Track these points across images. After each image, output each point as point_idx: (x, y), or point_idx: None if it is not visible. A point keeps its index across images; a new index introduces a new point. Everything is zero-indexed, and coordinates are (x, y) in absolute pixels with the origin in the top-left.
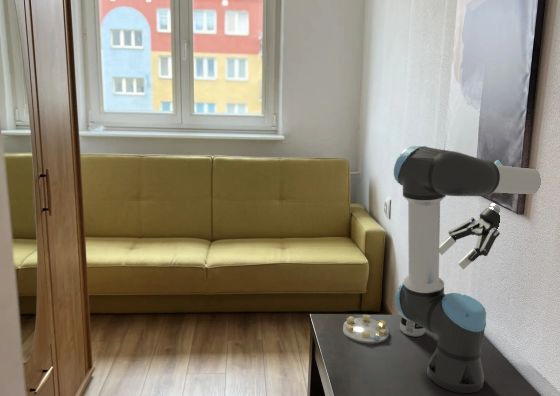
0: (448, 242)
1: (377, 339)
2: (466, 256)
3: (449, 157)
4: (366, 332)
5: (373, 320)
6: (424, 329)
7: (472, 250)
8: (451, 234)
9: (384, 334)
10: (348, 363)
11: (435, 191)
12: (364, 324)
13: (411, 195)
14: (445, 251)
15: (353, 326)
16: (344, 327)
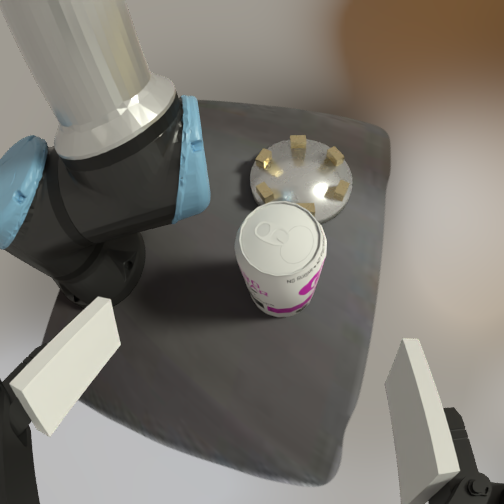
0: (417, 437)
1: (250, 178)
2: (58, 336)
3: None
4: (265, 156)
5: (335, 207)
6: (253, 299)
7: (20, 379)
8: (473, 491)
9: (260, 195)
10: (206, 122)
11: None
12: (319, 180)
13: None
14: (390, 410)
15: (313, 157)
16: (311, 141)
